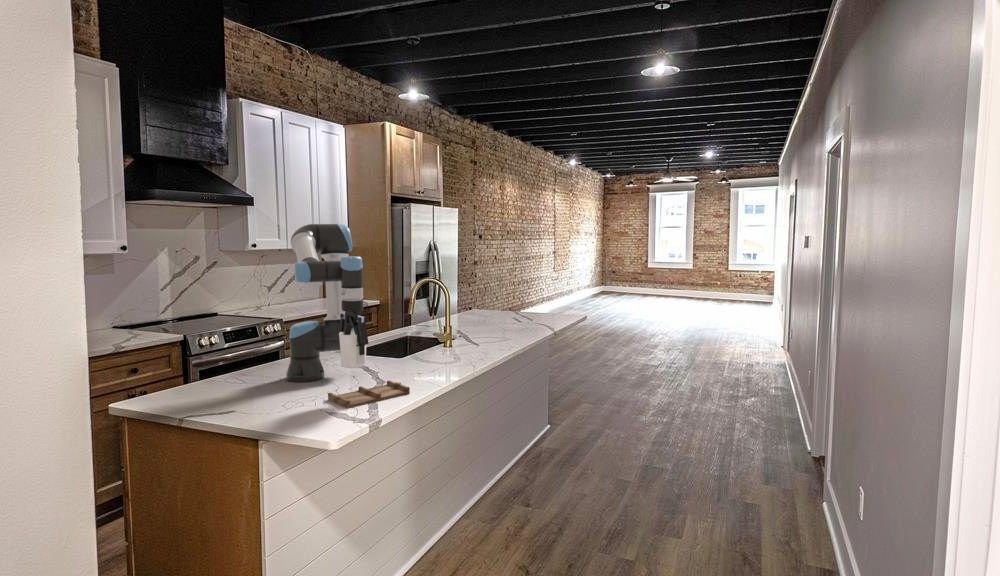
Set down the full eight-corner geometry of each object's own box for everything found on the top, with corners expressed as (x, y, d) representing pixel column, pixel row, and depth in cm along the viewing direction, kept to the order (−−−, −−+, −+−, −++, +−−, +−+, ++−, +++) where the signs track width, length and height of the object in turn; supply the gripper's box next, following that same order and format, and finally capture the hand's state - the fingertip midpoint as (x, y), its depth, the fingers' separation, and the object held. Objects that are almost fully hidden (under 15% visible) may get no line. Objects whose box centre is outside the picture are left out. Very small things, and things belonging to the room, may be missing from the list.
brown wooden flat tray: (328, 399, 206) (327, 391, 206) (390, 386, 225) (390, 378, 224) (347, 408, 196) (347, 399, 196) (411, 393, 215) (411, 385, 214)
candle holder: (368, 367, 201) (368, 334, 200) (340, 369, 198) (339, 335, 197) (366, 361, 211) (365, 329, 210) (338, 363, 208) (338, 331, 207)
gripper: (327, 298, 208) (329, 358, 210) (358, 303, 192) (360, 368, 194) (346, 296, 213) (347, 355, 215) (378, 301, 197) (379, 364, 199)
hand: (353, 361), depth 204 cm, fingers closed on candle holder, 9 cm apart
